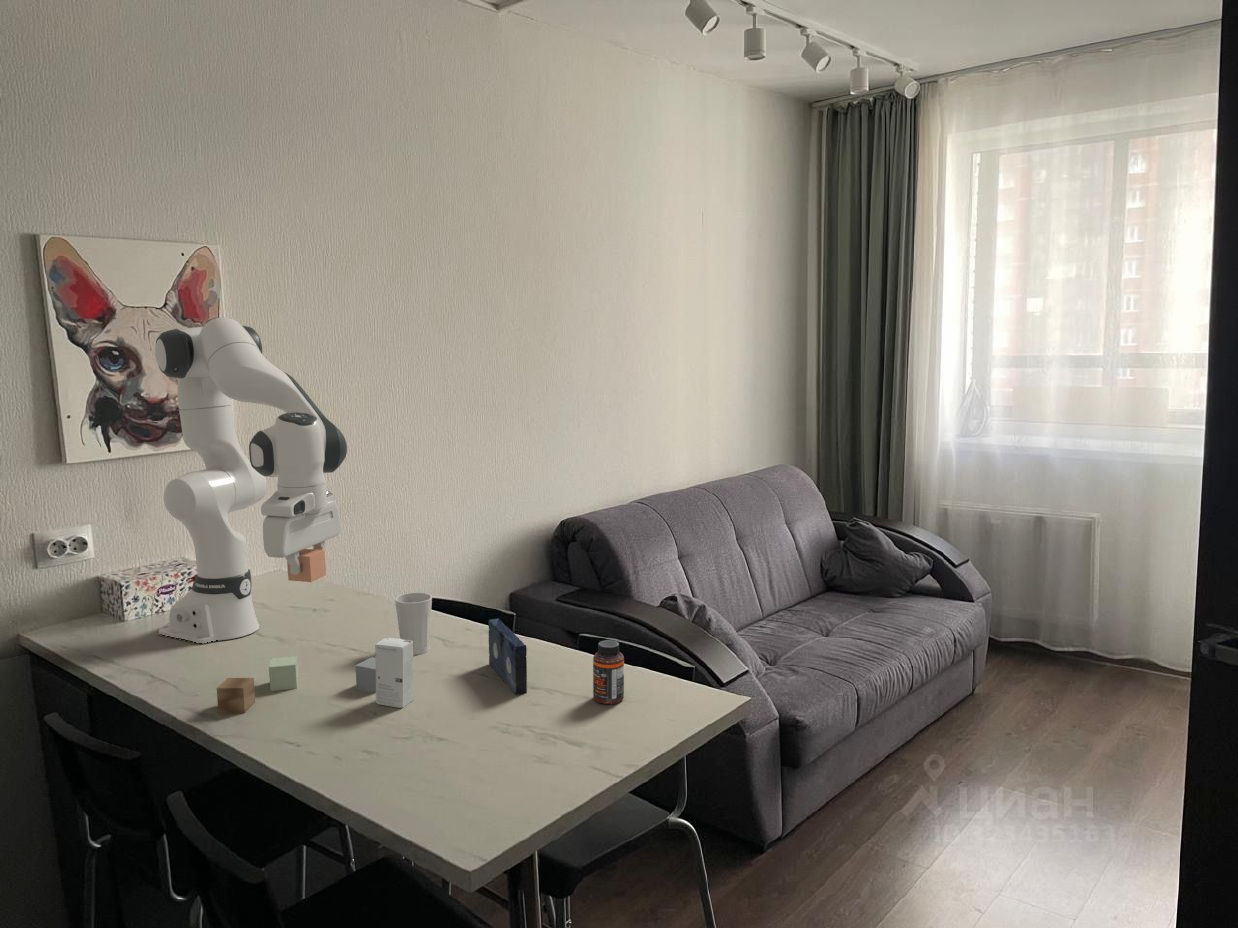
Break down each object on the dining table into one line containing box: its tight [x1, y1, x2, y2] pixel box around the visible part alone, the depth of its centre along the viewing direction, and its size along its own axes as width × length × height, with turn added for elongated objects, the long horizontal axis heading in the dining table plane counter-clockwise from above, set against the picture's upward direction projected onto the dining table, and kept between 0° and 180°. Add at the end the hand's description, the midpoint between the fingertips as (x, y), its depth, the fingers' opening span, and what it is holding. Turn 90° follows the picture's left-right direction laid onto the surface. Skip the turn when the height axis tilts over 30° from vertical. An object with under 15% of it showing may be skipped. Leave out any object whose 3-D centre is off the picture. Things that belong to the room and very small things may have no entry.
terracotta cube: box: [286, 548, 327, 583], centre depth 182 cm, size 5×5×5 cm
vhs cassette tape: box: [488, 617, 528, 696], centre depth 192 cm, size 18×3×10 cm, turn 23°
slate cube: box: [355, 656, 376, 694], centre depth 188 cm, size 5×5×5 cm
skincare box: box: [374, 637, 414, 709], centre depth 180 cm, size 6×4×12 cm
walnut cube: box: [216, 677, 256, 714], centre depth 179 cm, size 5×5×5 cm
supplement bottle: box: [592, 639, 625, 705], centre depth 181 cm, size 6×6×11 cm
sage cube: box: [268, 655, 300, 692], centre depth 189 cm, size 5×5×5 cm
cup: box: [394, 592, 433, 656], centre depth 208 cm, size 8×8×12 cm
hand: (306, 569), depth 182 cm, fingers closed on terracotta cube, 5 cm apart
